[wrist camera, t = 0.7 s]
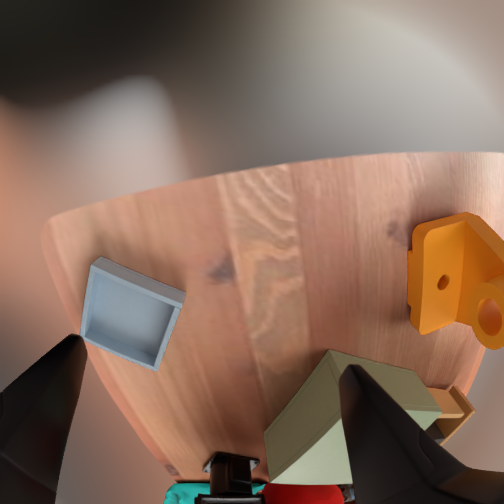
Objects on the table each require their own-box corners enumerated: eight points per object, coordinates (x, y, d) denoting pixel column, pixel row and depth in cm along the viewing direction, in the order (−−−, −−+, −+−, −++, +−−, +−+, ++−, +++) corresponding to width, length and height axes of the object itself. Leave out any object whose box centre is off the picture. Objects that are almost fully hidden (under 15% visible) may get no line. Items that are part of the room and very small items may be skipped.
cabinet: (414, 370, 29) (443, 411, 22) (348, 442, 33) (362, 482, 26) (328, 348, 26) (353, 404, 19) (263, 432, 30) (269, 483, 23)
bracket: (406, 223, 23) (505, 277, 11) (461, 209, 23) (553, 248, 11) (405, 323, 26) (469, 399, 15) (455, 303, 26) (522, 362, 15)
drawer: (467, 387, 31) (486, 410, 26) (415, 443, 35) (427, 467, 29) (408, 377, 28) (430, 410, 23) (345, 444, 32) (356, 476, 26)
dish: (161, 358, 26) (157, 372, 24) (87, 326, 24) (79, 338, 22) (186, 292, 24) (182, 303, 22) (100, 255, 22) (90, 264, 20)
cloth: (248, 469, 33) (249, 481, 31) (284, 493, 38) (285, 503, 36) (125, 484, 36) (123, 493, 34) (170, 509, 41) (169, 517, 38)
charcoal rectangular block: (418, 429, 31) (431, 452, 27) (400, 429, 30) (413, 454, 26) (431, 415, 30) (445, 438, 26) (414, 415, 30) (428, 440, 25)
